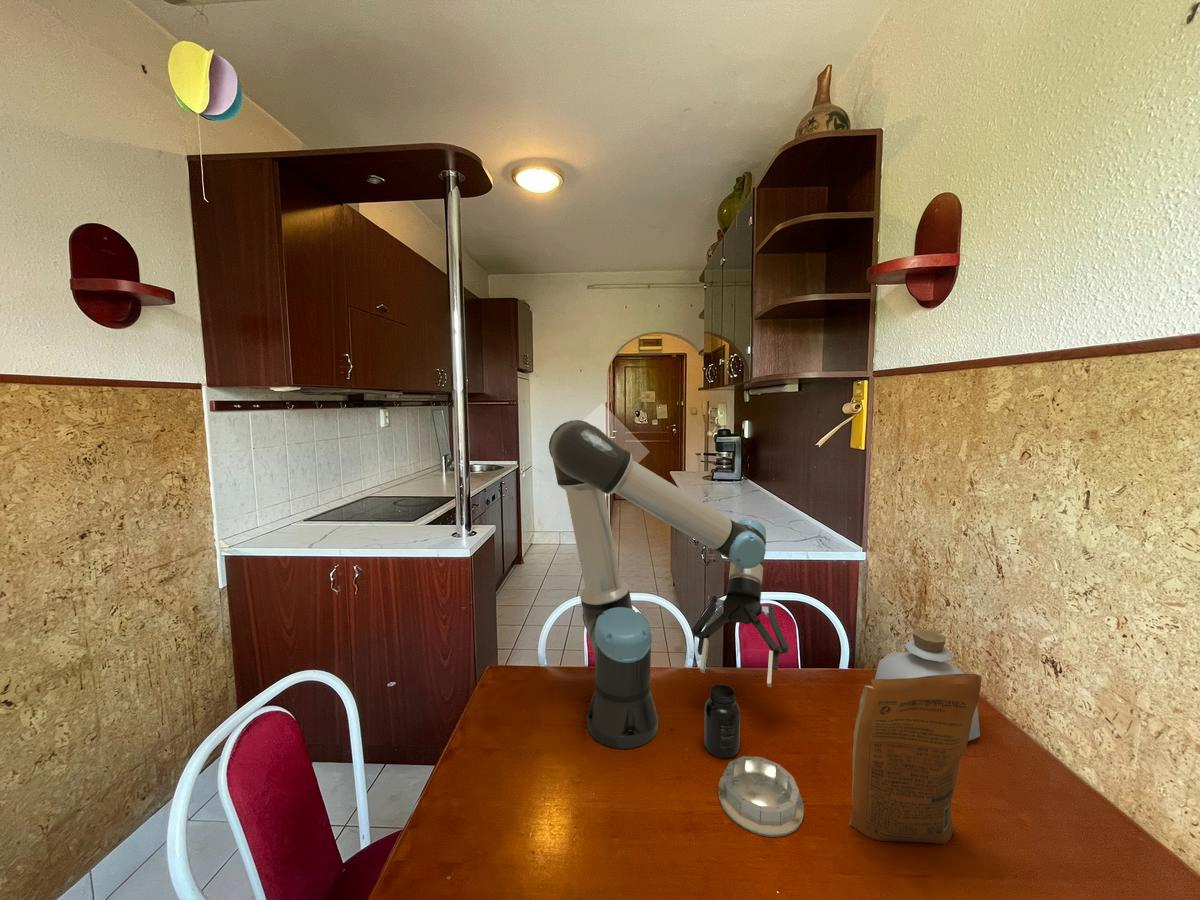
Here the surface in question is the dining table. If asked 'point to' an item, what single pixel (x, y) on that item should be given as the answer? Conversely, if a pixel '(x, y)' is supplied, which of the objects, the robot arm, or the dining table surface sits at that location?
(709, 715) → the supplement bottle
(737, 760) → the silver bowl
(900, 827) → the pancake mix bag
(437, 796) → the dining table surface
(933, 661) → the bottle
